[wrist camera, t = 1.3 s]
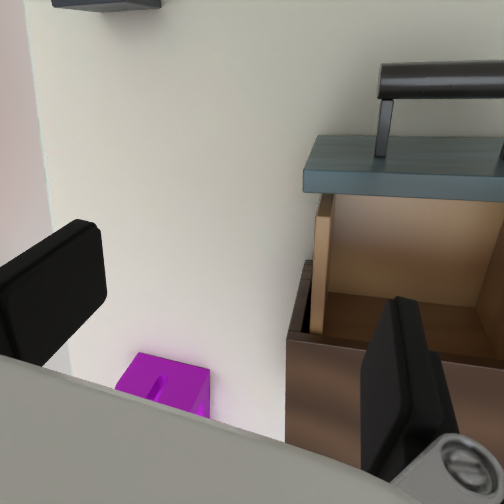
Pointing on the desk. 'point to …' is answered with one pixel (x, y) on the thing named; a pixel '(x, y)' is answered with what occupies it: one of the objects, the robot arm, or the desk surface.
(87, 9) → the block
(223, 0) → the desk surface
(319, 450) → the cabinet
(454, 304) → the drawer
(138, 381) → the tape dispenser
